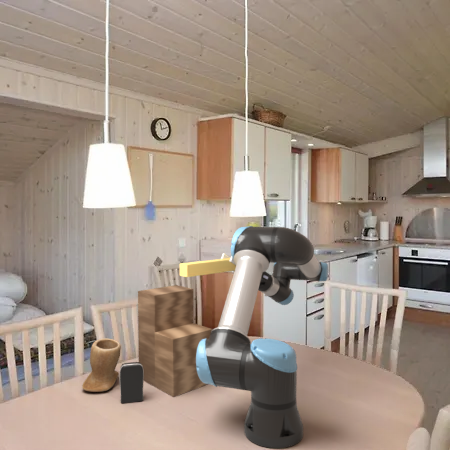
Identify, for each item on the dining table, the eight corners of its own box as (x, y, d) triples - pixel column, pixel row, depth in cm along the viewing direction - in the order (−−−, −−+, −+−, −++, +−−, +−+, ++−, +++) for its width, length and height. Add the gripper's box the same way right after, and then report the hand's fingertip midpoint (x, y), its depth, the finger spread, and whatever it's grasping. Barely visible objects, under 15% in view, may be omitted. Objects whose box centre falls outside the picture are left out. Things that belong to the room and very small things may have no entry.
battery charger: (143, 396, 135) (142, 359, 134) (143, 401, 131) (143, 364, 130) (120, 398, 133) (119, 361, 133) (120, 404, 129) (119, 366, 129)
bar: (240, 267, 162) (240, 256, 162) (248, 268, 159) (248, 257, 159) (179, 275, 143) (179, 263, 143) (187, 277, 140) (187, 264, 140)
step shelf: (176, 366, 160) (176, 285, 158) (212, 382, 145) (212, 293, 143) (138, 378, 149) (137, 291, 147) (173, 397, 134) (172, 300, 133)
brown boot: (116, 395, 136) (115, 347, 135) (77, 394, 136) (77, 347, 135) (127, 375, 151) (126, 333, 150) (93, 375, 151) (92, 333, 150)
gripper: (278, 295, 161) (240, 269, 147) (246, 288, 174) (207, 264, 159) (285, 276, 163) (247, 249, 149) (252, 271, 176) (214, 246, 162)
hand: (227, 257), depth 154 cm, fingers closed on bar, 4 cm apart
